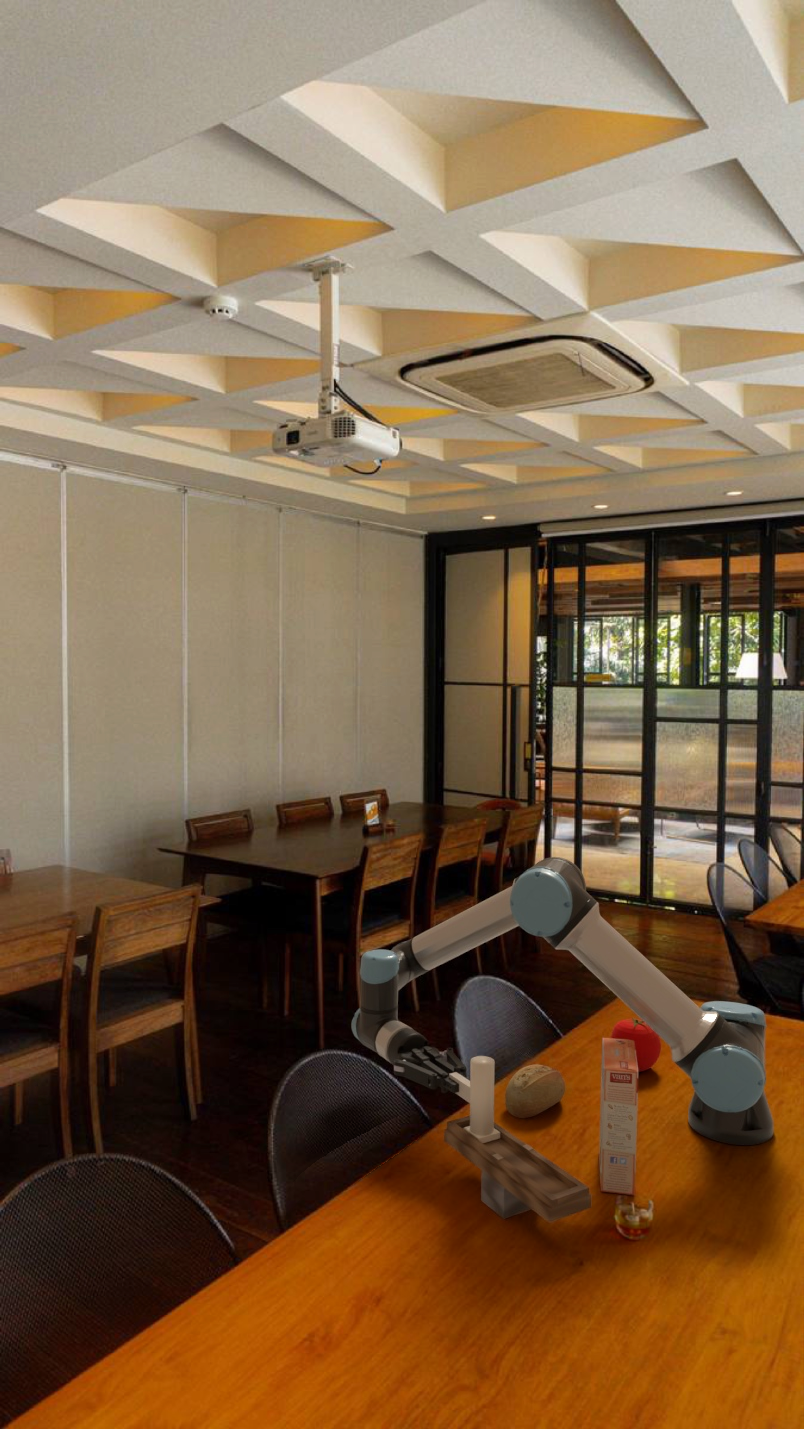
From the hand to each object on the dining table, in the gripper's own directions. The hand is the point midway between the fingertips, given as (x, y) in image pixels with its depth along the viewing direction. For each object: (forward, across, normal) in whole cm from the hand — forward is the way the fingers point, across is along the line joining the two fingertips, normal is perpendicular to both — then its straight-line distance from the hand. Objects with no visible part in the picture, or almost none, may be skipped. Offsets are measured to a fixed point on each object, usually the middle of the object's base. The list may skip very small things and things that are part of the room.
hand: (473, 1094), depth 160 cm
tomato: (-18, -55, -14) cm, 59 cm away
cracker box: (+13, -21, -14) cm, 28 cm away
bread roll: (-14, -25, -14) cm, 32 cm away
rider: (+2, 0, -6) cm, 7 cm away
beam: (+11, 0, -13) cm, 17 cm away
